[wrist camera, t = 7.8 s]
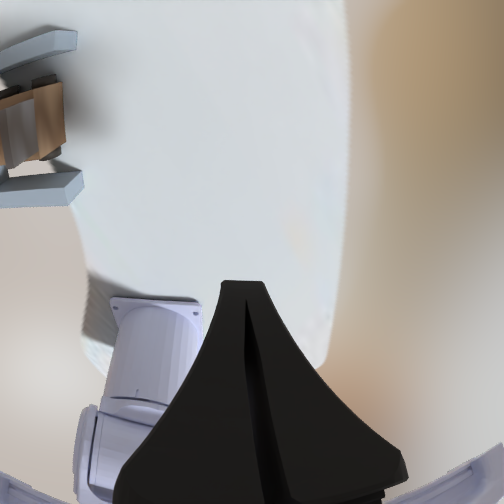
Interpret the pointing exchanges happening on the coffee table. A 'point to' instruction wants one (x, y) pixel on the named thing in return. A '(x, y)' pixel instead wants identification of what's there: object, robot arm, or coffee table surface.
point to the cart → (31, 122)
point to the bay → (41, 185)
